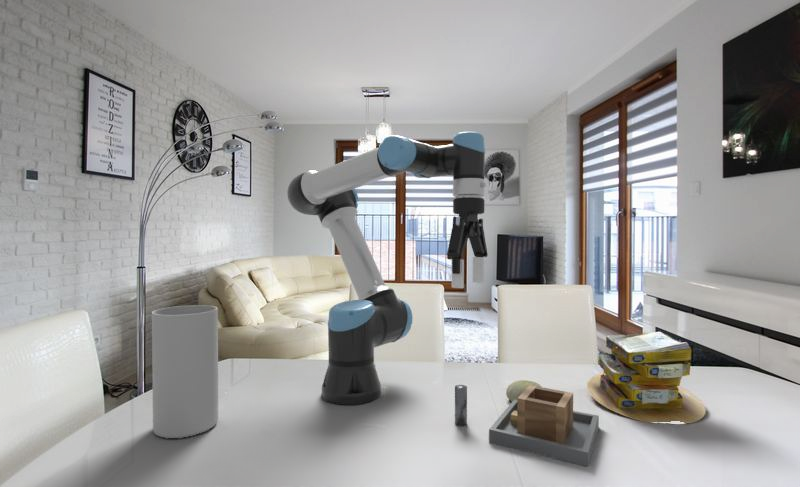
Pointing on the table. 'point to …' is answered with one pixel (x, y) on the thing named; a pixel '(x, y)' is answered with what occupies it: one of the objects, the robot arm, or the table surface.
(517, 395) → the sea urchin shell
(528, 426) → the wooden light box
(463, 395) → the grey rounded cylinder
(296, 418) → the table surface
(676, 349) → the stack of yellow boxes
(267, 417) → the table surface
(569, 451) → the tray
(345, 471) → the table surface
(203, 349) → the cylinder vase
